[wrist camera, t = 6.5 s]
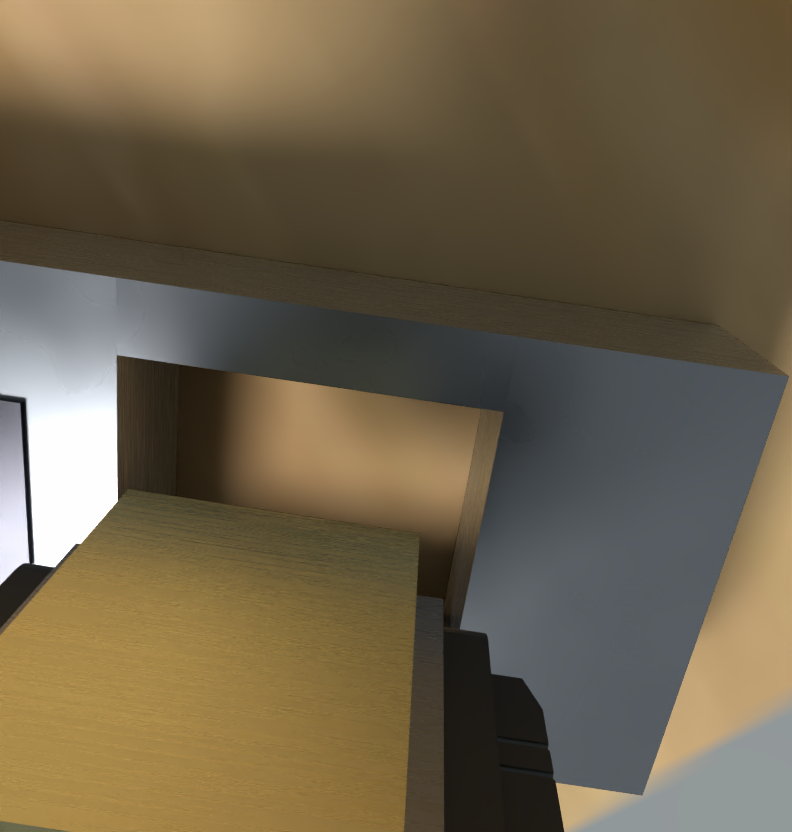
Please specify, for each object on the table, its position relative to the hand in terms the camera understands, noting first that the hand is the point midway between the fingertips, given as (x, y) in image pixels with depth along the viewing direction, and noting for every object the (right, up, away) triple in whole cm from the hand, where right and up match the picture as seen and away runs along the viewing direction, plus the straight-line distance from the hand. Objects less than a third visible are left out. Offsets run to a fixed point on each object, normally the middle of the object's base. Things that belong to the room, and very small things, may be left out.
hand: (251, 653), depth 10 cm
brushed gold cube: (0, 0, +1) cm, 1 cm away
